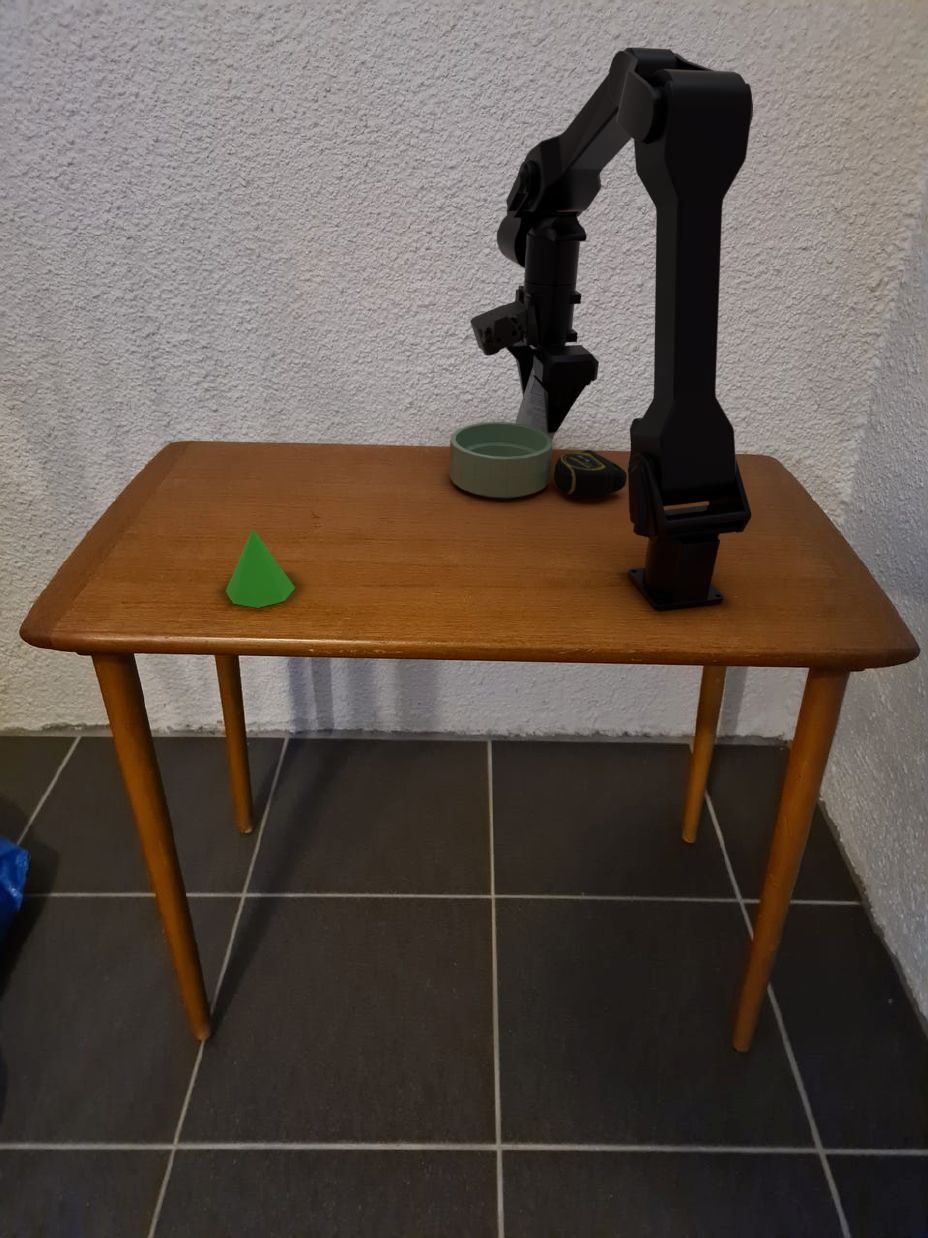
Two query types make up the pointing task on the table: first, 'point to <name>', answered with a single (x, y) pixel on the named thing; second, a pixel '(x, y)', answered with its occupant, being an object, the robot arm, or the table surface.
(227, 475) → the table surface
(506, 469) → the bowl
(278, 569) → the green faceted cone
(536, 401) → the medicine box
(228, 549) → the table surface
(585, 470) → the tape measure
